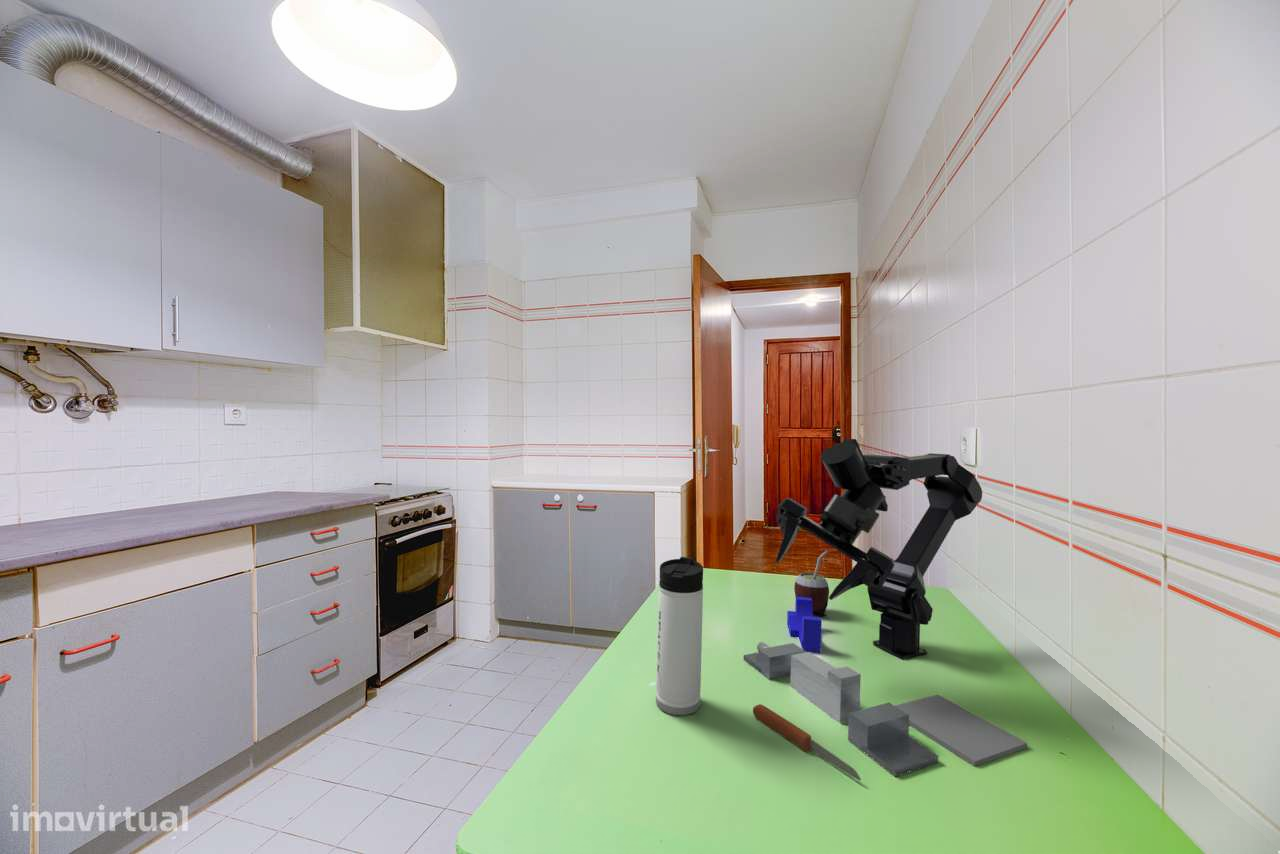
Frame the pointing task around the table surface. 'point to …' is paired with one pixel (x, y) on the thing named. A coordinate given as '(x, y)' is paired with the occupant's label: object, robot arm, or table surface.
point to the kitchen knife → (799, 737)
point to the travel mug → (679, 636)
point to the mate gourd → (813, 589)
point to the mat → (960, 730)
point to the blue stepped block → (805, 625)
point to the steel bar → (826, 685)
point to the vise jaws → (859, 718)
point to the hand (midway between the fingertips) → (802, 579)
